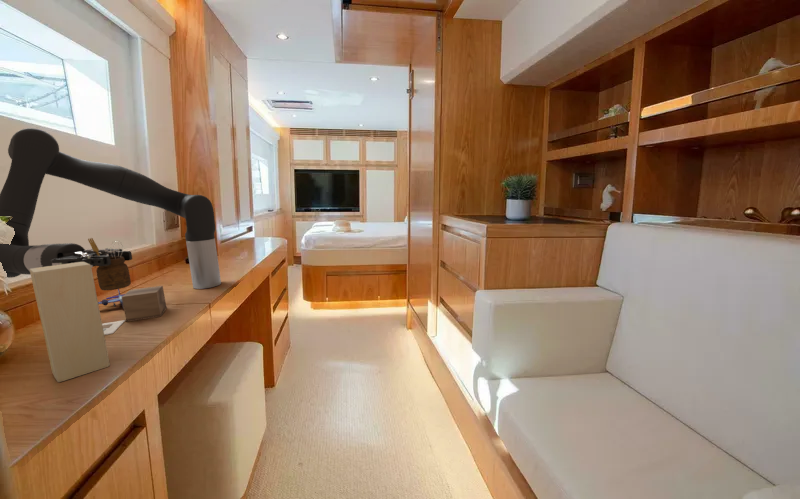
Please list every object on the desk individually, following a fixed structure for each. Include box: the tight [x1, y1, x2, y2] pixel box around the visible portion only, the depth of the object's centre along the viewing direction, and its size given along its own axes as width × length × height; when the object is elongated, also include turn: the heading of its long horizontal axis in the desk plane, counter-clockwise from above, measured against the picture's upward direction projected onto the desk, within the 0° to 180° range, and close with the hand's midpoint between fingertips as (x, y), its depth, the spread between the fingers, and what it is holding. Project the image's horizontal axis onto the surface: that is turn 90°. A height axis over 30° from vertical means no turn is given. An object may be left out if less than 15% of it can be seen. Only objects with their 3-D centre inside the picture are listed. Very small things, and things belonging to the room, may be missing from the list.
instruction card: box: [102, 319, 126, 336], centre depth 92 cm, size 10×7×1 cm
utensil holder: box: [87, 237, 132, 291], centre depth 83 cm, size 6×6×12 cm
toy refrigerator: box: [30, 262, 111, 383], centre depth 69 cm, size 8×7×21 cm
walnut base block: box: [122, 285, 168, 323], centre depth 102 cm, size 8×8×7 cm
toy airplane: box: [98, 289, 126, 310], centre depth 111 cm, size 13×14×4 cm
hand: (119, 258), depth 83 cm, fingers closed on utensil holder, 5 cm apart
